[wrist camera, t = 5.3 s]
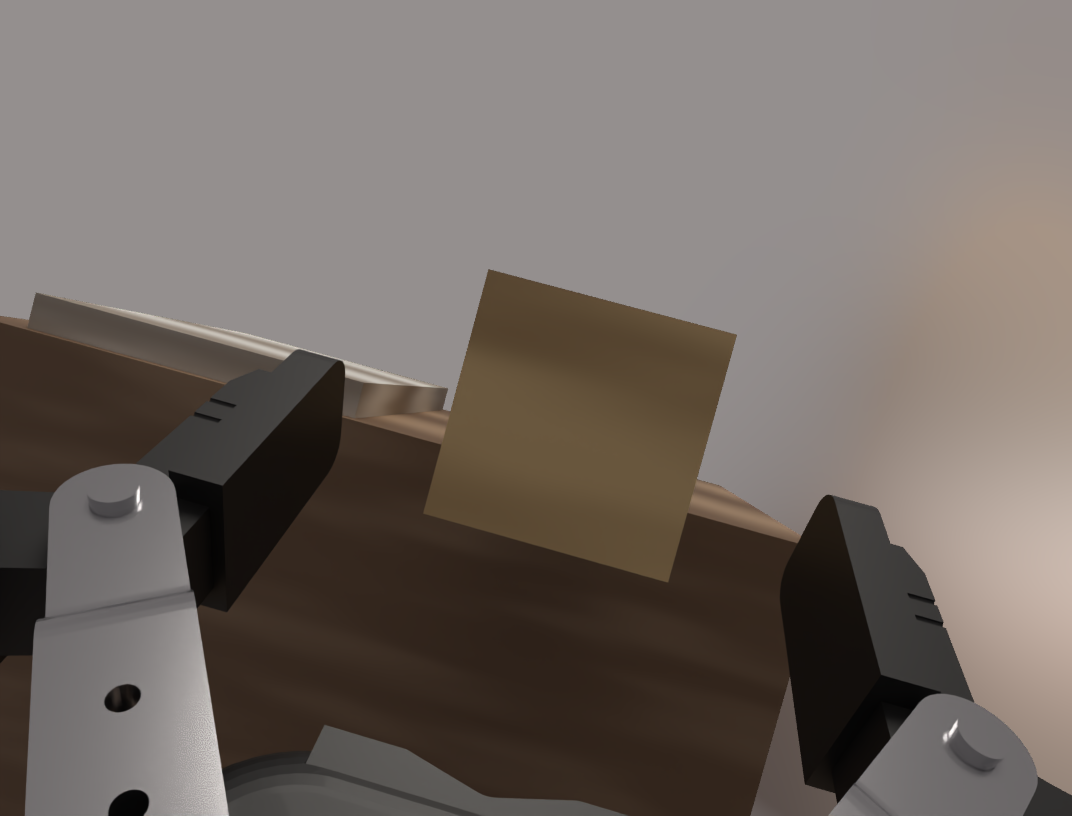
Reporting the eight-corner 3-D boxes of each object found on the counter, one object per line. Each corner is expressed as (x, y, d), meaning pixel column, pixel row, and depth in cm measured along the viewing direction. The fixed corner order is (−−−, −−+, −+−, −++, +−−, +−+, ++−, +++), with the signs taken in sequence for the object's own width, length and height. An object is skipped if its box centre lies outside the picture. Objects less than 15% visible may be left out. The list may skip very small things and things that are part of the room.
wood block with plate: (866, 638, 10) (969, 278, 10) (236, 461, 10) (326, 114, 10) (667, 472, 32) (698, 360, 32) (467, 417, 32) (497, 306, 32)
